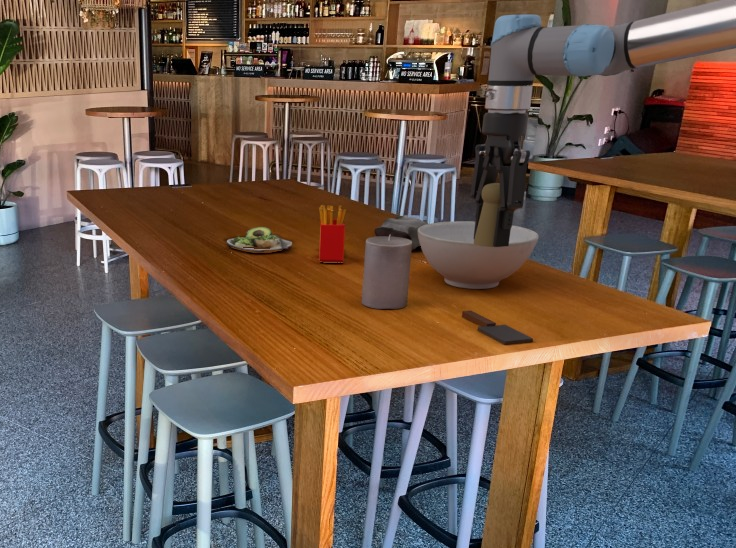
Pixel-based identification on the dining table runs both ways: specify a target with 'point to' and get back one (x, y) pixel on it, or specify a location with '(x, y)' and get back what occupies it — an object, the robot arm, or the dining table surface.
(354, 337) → the dining table surface
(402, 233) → the rock
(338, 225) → the french fries container
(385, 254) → the pillar candle
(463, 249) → the decorative bowl
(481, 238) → the pepper mill
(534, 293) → the dining table surface
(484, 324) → the spatula
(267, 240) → the salad plate
